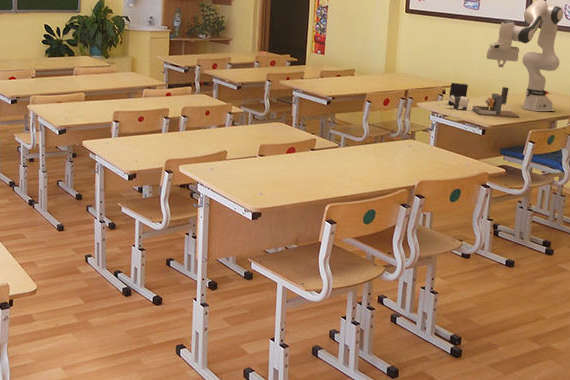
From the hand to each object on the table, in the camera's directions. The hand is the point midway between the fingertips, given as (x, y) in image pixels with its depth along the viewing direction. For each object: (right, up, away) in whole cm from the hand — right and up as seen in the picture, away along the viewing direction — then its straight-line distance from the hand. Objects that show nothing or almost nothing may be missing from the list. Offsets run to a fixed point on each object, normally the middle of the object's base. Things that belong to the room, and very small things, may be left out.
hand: (500, 67), depth 535 cm
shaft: (-2, -23, +7) cm, 24 cm away
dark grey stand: (-2, -30, +9) cm, 31 cm away
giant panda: (-25, -26, +15) cm, 39 cm away
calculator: (-23, -22, +28) cm, 43 cm away
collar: (-5, -25, +7) cm, 26 cm away
